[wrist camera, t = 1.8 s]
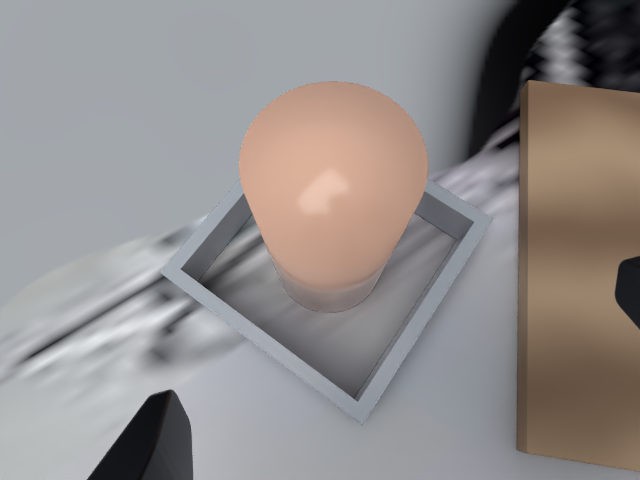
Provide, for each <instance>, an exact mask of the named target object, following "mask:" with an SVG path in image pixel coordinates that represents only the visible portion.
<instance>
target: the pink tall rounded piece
mask: <svg viewBox="0 0 640 480" xmlns="http://www.w3.org/2000/svg"><path fill="white" fill-rule="evenodd" d="M239 173H240V181H241V185H242V188H243V191H244V194H245V197H246V199H247V201H248V204H249V206H250V209H251V211H252V213H253V216H254V218H255V221H256V223H257V225H258V228H259V230H260V233H261V235H262V237H263V240H264V242H265V245H266V247H267V250H268V252H269V254H270V257H271V259H272V262H273V264H274V266H275V269H276V271H277V274H278V276H279V278H280V281H281V283H282V285H283V287H284V288H285V290H286V292H287V293H288V294H289V295H290V296H291V297H292V298H293V299H294V300H295V301H296V302H298V303H299V304H300V305H302V306H304V307H306V308H308V309H311V310H313V311H317V312H323V313H336V312H341V311H345V310H348V309H350V308H352V307H354V306H356V305H358V304H359V303H361V302H362V301H363V300H364V299H365V298H366V297H367V296H368V295H369V294H370V293H371V291H372V290H373V288H374V287H375V285H376V283H377V281H378V279H379V278H380V276H381V274H382V272H383V270H384V268H385V266H386V264H387V262H388V261H389V259H390V257H391V255H392V253H393V251H394V249H395V247H396V246H397V244H398V242H399V240H400V238H401V236H402V234H403V232H404V231H405V229H406V227H407V225H408V223H409V221H410V219H411V217H412V216H413V214H414V212H415V210H416V208H417V206H418V204H419V202H420V200H421V198H422V196H423V193H424V190H425V187H426V183H427V177H428V158H427V150H426V147H425V143H424V140H423V138H422V135H421V133H420V131H419V129H418V128H417V126H416V124H415V123H414V121H413V120H412V118H411V117H410V116H409V115H408V114H407V112H406V111H405V110H404V109H403V108H401V107H400V106H399V105H398V104H397V103H396V102H394V101H393V100H392V99H390V98H389V97H387V96H385V95H383V94H382V93H380V92H378V91H376V90H373V89H370V88H369V87H365V86H362V85H359V84H354V83H348V82H337V81H330V82H318V83H312V84H308V85H305V86H301V87H298V88H296V89H293V90H290V91H288V92H286V93H285V94H283V95H281V96H279V97H278V98H276V99H275V100H274V101H272V102H271V103H270V104H268V105H267V106H266V107H265V108H264V109H263V110H262V111H261V112H260V113H259V115H258V116H257V117H256V118H255V119H254V121H253V122H252V124H251V125H250V127H249V129H248V131H247V133H246V135H245V137H244V140H243V143H242V147H241V151H240V157H239Z"/></svg>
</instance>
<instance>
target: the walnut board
mask: <svg viewBox="0 0 640 480" xmlns="http://www.w3.org/2000/svg"><path fill="white" fill-rule="evenodd" d="M636 256H640V93H633V92H625V91H616V90H608V89H599V88H591V87H582V86H574V85H566V84H557V83H549V82H540V81H532V80H528V82H527V83H526V84H525V86H524V87H523V89H522V90H521V92H520V171H519V268H518V366H517V450H519V451H522V452H525V453H528V454H534V455H541V456H547V457H553V458H559V459H565V460H571V461H577V462H584V463H590V464H596V465H602V466H608V467H614V468H621V469H627V470H633V471H639V472H640V330H639V328H638V327H637V326H636V325H635V324H634V323H633V322H632V320H631V319H630V318H629V317H628V316H627V315H626V314H625V312H624V311H623V310H622V309H621V308H620V307H619V305H618V304H617V302H616V299H615V295H614V293H615V286H616V279H617V272H618V266H619V264H620V263H621V262H622V261H623V260H625V259H629V258H632V257H636Z"/></svg>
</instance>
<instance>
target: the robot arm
mask: <svg viewBox="0 0 640 480" xmlns="http://www.w3.org/2000/svg"><path fill="white" fill-rule="evenodd" d="M614 295H615V299H616V302H617V304H618V305H619V307H620V308H621V309H622V310H623V311H624V312H625V314H626V315H627V316H628V317H629V318H630V319H631V320H632V322H633V323H634V324H635V325H636V326H637V327H638V328H639V330H640V256H636V257H632V258H629V259H625V260H623V261H622V262H621V263H620V264H619V266H618V272H617V279H616V286H615V293H614ZM87 480H193V460H192V435H191V425H190V421H189V419H188V416H187V414H186V412H185V410H184V408H183V406H182V404H181V402H180V400H179V398H178V396H177V394H176V393H175V392H174V391H173V390H166V391H162V392H159V393H155V394H153V395H151V396H149V397H148V398H147V400H146V401H145V402H144V404H143V405H142V406H141V408H140V409H139V410H138V412H137V413H136V414H135V416H134V417H133V418H132V420H131V421H130V422H129V424H128V425H127V427H126V428H125V429H124V431H123V432H122V433H121V435H120V436H119V437H118V439H117V440H116V441H115V443H114V444H113V445H112V447H111V448H110V449H109V451H108V452H107V453H106V455H105V456H104V457H103V459H102V460H101V461H100V463H99V464H98V465H97V467H96V468H95V469H94V471H93V472H92V473H91V475H90V476H89V477H88V479H87Z"/></svg>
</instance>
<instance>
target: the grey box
mask: <svg viewBox="0 0 640 480" xmlns="http://www.w3.org/2000/svg"><path fill="white" fill-rule="evenodd" d="M414 213H416V214H417V215H419V216H421V217H422V218H424V219H425V220H427V221H428V222H430V223H432V224H433V225H435V226H436V227H438V228H440V229H441V230H443V231H444V232H446V233H447V234H449V235H451V236H452V237H454V238H455V239H457V241H456V243H455V244H454V246H453V247H452V249H451V251H450V252H449V254H448V255H447V257H446V258H445V260H444V261H443V263H442V264H441V266H440V267H439V269H438V271H437V272H436V274H435V275H434V277H433V278H432V280H431V281H430V283H429V284H428V286H427V288H426V289H425V291H424V292H423V294H422V295H421V297H420V298H419V300H418V301H417V303H416V304H415V306H414V308H413V309H412V311H411V312H410V314H409V315H408V317H407V318H406V320H405V321H404V323H403V324H402V326H401V328H400V329H399V331H398V332H397V334H396V335H395V337H394V338H393V340H392V341H391V343H390V344H389V346H388V348H387V349H386V351H385V352H384V354H383V355H382V357H381V358H380V360H379V361H378V363H377V364H376V366H375V368H374V369H373V371H372V372H371V374H370V375H369V377H368V378H367V380H366V381H365V383H364V384H363V386H362V388H361V389H360V391H359V392H358V394H357V395H356V397H355V398H354V399H353V398H352V397H351V396H349V395H348V394H347V393H345V392H344V391H343V390H341V389H340V388H339V387H337V386H336V385H335V384H333V383H332V382H331V381H329V380H328V379H327V378H325V377H324V376H323V375H321V374H320V373H319V372H317V371H316V370H315V369H313V368H312V367H311V366H309V365H308V364H307V363H305V362H304V361H303V360H301V359H300V358H299V357H297V356H296V355H295V354H293V353H292V352H291V351H289V350H288V349H286V348H285V347H284V346H282V345H281V344H280V343H278V342H277V341H276V340H274V339H273V338H272V337H270V336H269V335H268V334H266V333H265V332H264V331H262V330H261V329H260V328H258V327H257V326H256V325H254V324H253V323H252V322H250V321H249V320H248V319H246V318H245V317H244V316H242V315H241V314H240V313H238V312H237V311H236V310H234V309H233V308H232V307H230V306H229V305H228V304H226V303H225V302H224V301H222V300H221V299H220V298H218V297H217V296H216V295H214V294H213V293H212V292H210V291H209V290H208V289H206V288H205V287H203V286H202V285H201V284H199V283H198V282H197V281H198V280H199V279H200V277H201V276H202V275H203V274H204V273H205V271H206V270H207V269H208V268H209V266H210V265H211V264H212V263H213V262H214V260H215V259H216V258H217V257H218V255H219V254H220V253H221V252H222V251H223V249H224V248H225V247H226V246H227V244H228V243H229V242H230V241H231V239H232V238H233V237H234V236H235V235H236V233H237V232H238V231H239V230H240V228H241V227H242V226H243V225H244V224H245V222H246V221H247V220H248V219H249V217H250V216H251V215H252V214H253V213H252V211H251V209H250V206H249V204H248V201H247V199H246V197H245V194H244V191H243V188H242V185H241V181H240V179H239V180H238V181H237V182H236V183H235V185H234V186H233V187H232V188H231V190H230V191H229V192H228V193H227V194H226V195H225V197H224V198H223V199H222V200H221V201H220V202H219V204H218V205H217V206H216V207H215V208H214V209H213V211H212V212H211V213H210V214H209V215H208V216H207V218H206V219H205V220H204V221H203V222H202V224H201V225H200V226H199V227H198V228H197V229H196V231H195V232H194V233H193V234H192V235H191V237H190V238H189V239H188V240H187V241H186V242H185V244H184V245H183V246H182V247H181V248H180V250H179V251H178V252H177V253H176V254H175V255H174V257H173V258H172V259H171V260H170V261H169V262H168V264H167V265H166V266H165V267H164V268H163V270H162V271H161V272H160V273H161V274H163V275H164V276H165V277H167V278H168V279H169V280H171V281H172V282H173V283H175V284H176V285H177V286H179V287H180V288H181V289H183V290H184V291H185V292H187V293H188V294H189V295H190V296H192V297H193V298H194V299H196V300H197V301H198V302H200V303H201V304H202V305H204V306H205V307H206V308H208V309H209V310H210V311H212V312H213V313H214V314H216V315H217V316H218V317H220V318H221V319H222V320H224V321H225V322H226V323H227V324H229V325H230V326H231V327H233V328H234V329H235V330H237V331H238V332H239V333H241V334H242V335H243V336H245V337H246V338H247V339H249V340H250V341H251V342H253V343H254V344H255V345H257V346H258V347H259V348H260V349H262V350H263V351H264V352H266V353H267V354H268V355H270V356H271V357H272V358H274V359H275V360H276V361H278V362H279V363H280V364H282V365H283V366H284V367H286V368H287V369H288V370H290V371H291V372H292V373H293V374H295V375H296V376H297V377H299V378H300V379H301V380H303V381H304V382H305V383H307V384H308V385H309V386H311V387H312V388H313V389H315V390H316V391H317V392H319V393H320V394H321V395H323V396H324V397H325V398H326V399H328V400H329V401H330V402H332V403H333V404H334V405H336V406H337V407H338V408H340V409H341V410H342V411H344V412H345V413H346V414H348V415H349V416H350V417H352V418H353V419H354V420H356V421H357V422H358V423H360V424H361V425H363V424H364V422H365V421H366V419H367V417H368V416H369V414H370V413H371V411H372V410H373V408H374V406H375V405H376V403H377V402H378V400H379V398H380V397H381V395H382V394H383V392H384V391H385V389H386V387H387V386H388V384H389V383H390V381H391V380H392V378H393V376H394V375H395V373H396V372H397V370H398V368H399V367H400V365H401V364H402V362H403V361H404V359H405V357H406V356H407V354H408V353H409V351H410V350H411V348H412V346H413V345H414V343H415V342H416V340H417V338H418V337H419V335H420V334H421V332H422V331H423V329H424V327H425V326H426V324H427V323H428V321H429V320H430V318H431V316H432V315H433V313H434V312H435V310H436V308H437V307H438V305H439V304H440V302H441V301H442V299H443V297H444V296H445V294H446V293H447V291H448V290H449V288H450V286H451V285H452V283H453V282H454V280H455V278H456V277H457V275H458V274H459V272H460V271H461V269H462V267H463V266H464V264H465V263H466V261H467V260H468V258H469V256H470V255H471V253H472V252H473V250H474V248H475V247H476V245H477V244H478V242H479V241H480V239H481V237H482V236H483V234H484V233H485V231H486V230H487V228H488V226H489V225H490V223H491V222H492V220H493V218H491V217H489V216H488V215H486V214H485V213H483V212H481V211H480V210H478V209H476V208H475V207H473V206H471V205H470V204H468V203H467V202H465V201H463V200H462V199H460V198H458V197H457V196H455V195H453V194H452V193H450V192H449V191H447V190H445V189H444V188H442V187H440V186H439V185H437V184H435V183H434V182H432V181H431V180H429V179H427V183H426V187H425V190H424V193H423V196H422V198H421V200H420V202H419V204H418V206H417V208H416V210H415V212H414Z"/></svg>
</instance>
